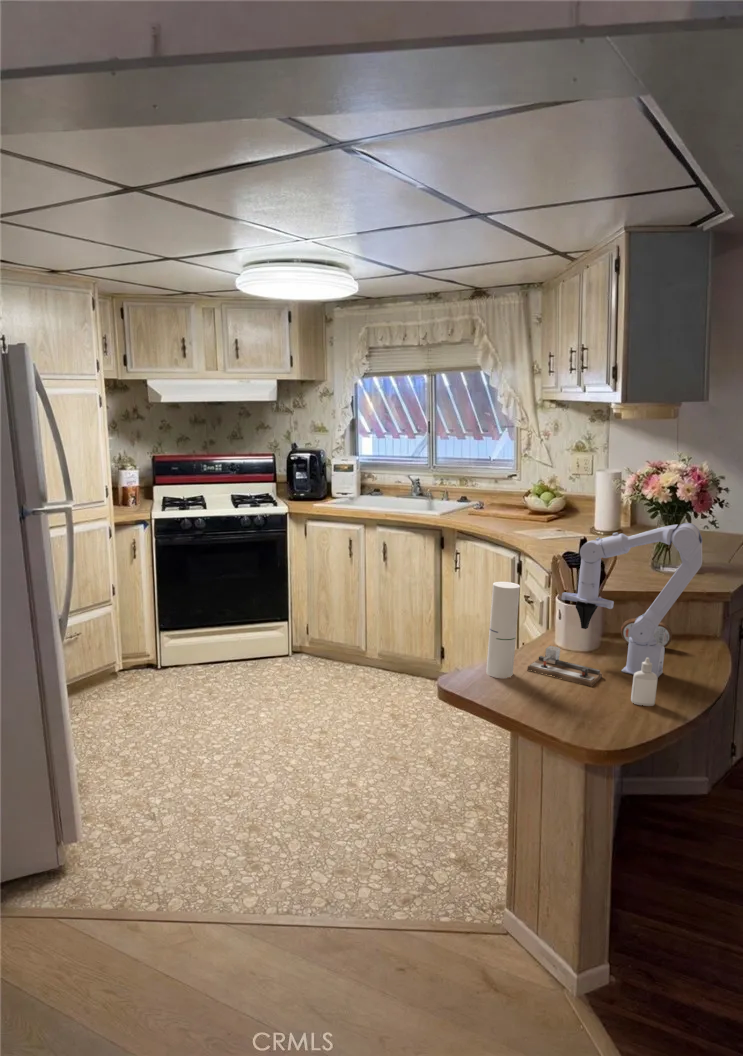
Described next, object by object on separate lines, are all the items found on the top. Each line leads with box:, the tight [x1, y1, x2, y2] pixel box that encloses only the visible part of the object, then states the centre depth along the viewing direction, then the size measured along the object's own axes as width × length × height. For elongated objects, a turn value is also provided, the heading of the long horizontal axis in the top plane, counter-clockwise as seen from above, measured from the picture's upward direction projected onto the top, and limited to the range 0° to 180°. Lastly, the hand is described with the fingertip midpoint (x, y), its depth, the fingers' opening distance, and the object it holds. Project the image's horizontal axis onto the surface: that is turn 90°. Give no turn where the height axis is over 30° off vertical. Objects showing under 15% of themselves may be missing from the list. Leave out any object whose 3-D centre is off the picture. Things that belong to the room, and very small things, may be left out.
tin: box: [620, 617, 673, 649], centre depth 235 cm, size 15×3×8 cm, turn 72°
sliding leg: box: [543, 645, 561, 666], centre depth 211 cm, size 3×7×4 cm, turn 146°
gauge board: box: [527, 655, 603, 687], centre depth 208 cm, size 18×9×3 cm, turn 56°
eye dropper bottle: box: [630, 658, 659, 707], centre depth 189 cm, size 4×6×12 cm
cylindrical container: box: [485, 581, 521, 679], centre depth 204 cm, size 7×7×25 cm
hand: (584, 627), depth 218 cm, fingers closed
